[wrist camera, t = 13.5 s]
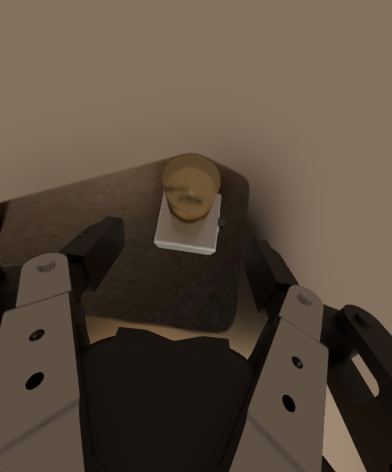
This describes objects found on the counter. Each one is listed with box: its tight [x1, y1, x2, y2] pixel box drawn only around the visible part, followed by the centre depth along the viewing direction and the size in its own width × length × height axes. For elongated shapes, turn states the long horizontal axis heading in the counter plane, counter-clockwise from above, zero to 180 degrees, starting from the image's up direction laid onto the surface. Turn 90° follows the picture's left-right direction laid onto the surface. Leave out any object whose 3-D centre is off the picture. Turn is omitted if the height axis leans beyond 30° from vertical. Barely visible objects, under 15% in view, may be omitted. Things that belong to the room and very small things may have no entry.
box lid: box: [155, 193, 226, 249], centre depth 26 cm, size 10×8×4 cm
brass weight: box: [162, 154, 220, 234], centre depth 19 cm, size 5×5×10 cm
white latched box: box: [154, 191, 221, 255], centre depth 27 cm, size 9×9×5 cm
